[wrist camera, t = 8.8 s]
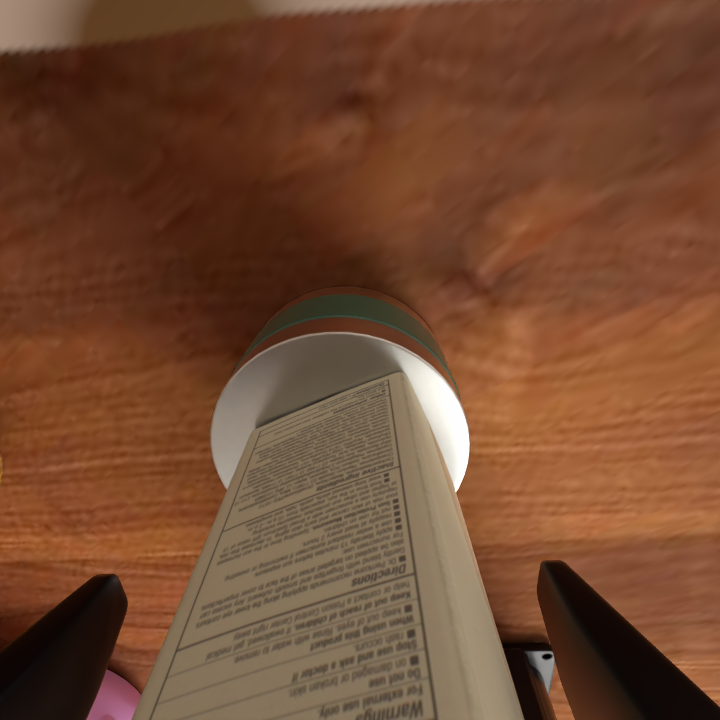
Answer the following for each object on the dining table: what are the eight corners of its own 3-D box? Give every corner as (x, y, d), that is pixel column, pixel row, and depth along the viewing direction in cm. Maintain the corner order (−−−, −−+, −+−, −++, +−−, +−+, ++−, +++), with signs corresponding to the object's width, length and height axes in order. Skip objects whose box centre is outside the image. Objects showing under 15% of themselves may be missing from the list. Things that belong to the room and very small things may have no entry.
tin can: (444, 457, 19) (467, 547, 15) (264, 465, 20) (233, 554, 15) (447, 278, 16) (478, 321, 12) (232, 290, 16) (179, 338, 12)
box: (311, 526, 15) (181, 1354, 4) (247, 425, 13) (-186, 1349, 3) (461, 476, 14) (735, 1385, 3) (412, 361, 12) (649, 1414, 2)
